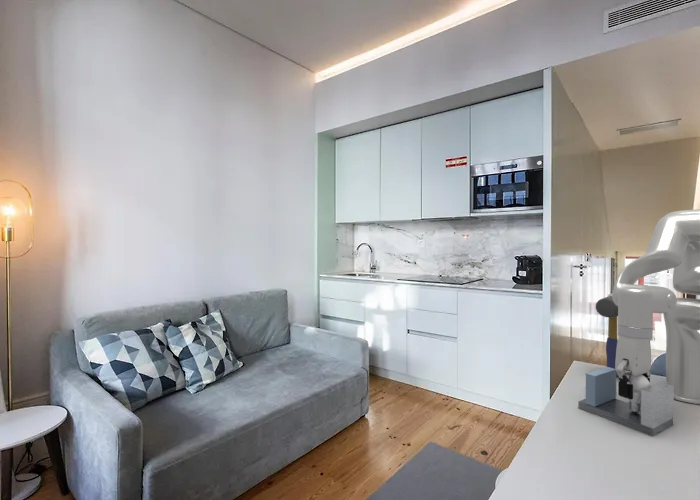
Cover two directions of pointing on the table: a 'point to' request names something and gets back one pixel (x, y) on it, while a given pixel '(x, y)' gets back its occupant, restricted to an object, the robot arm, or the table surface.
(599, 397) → the vise jaw
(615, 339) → the rubber mallet
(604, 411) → the vise base
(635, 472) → the table surface
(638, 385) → the lightbulb
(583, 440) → the table surface
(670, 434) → the table surface
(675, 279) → the robot arm
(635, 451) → the table surface
